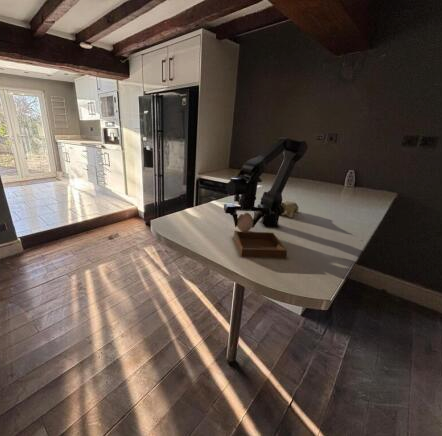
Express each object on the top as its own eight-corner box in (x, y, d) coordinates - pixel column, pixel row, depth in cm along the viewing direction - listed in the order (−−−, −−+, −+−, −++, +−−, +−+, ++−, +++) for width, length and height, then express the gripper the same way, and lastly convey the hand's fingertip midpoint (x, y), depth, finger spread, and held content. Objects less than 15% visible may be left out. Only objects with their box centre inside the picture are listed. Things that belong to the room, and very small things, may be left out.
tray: (271, 239, 95) (272, 232, 94) (285, 258, 82) (287, 250, 80) (233, 237, 95) (234, 231, 94) (241, 256, 82) (242, 248, 81)
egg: (255, 233, 100) (258, 215, 97) (240, 234, 98) (243, 216, 95) (246, 226, 107) (248, 209, 103) (232, 228, 105) (234, 210, 101)
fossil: (277, 206, 134) (293, 196, 128) (288, 220, 132) (304, 210, 126) (269, 209, 123) (286, 198, 117) (280, 224, 120) (298, 214, 115)
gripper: (265, 188, 103) (260, 220, 109) (223, 187, 104) (220, 219, 110) (274, 195, 93) (267, 230, 99) (227, 194, 93) (223, 229, 99)
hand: (244, 227), depth 102 cm, fingers closed on egg, 7 cm apart
